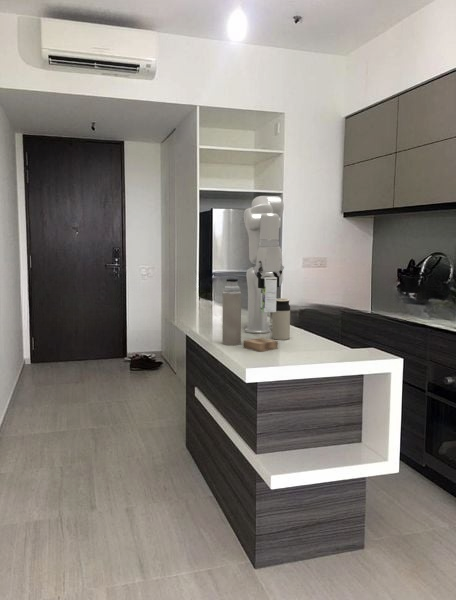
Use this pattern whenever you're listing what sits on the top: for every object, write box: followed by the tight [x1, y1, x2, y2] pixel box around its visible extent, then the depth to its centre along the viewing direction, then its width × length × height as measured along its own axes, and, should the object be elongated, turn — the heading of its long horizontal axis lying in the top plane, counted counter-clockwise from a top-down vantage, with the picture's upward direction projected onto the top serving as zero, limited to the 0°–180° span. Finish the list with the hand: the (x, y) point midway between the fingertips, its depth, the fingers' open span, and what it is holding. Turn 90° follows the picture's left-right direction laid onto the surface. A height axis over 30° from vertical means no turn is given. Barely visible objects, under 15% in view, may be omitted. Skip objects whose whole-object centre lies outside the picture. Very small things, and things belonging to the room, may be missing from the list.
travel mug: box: [271, 298, 291, 341], centre depth 242 cm, size 8×8×18 cm
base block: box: [242, 337, 279, 353], centre depth 221 cm, size 10×10×3 cm
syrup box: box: [261, 276, 278, 313], centre depth 218 cm, size 6×6×14 cm
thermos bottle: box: [222, 278, 242, 346], centre depth 229 cm, size 8×8×28 cm
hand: (268, 287), depth 218 cm, fingers closed on syrup box, 7 cm apart
